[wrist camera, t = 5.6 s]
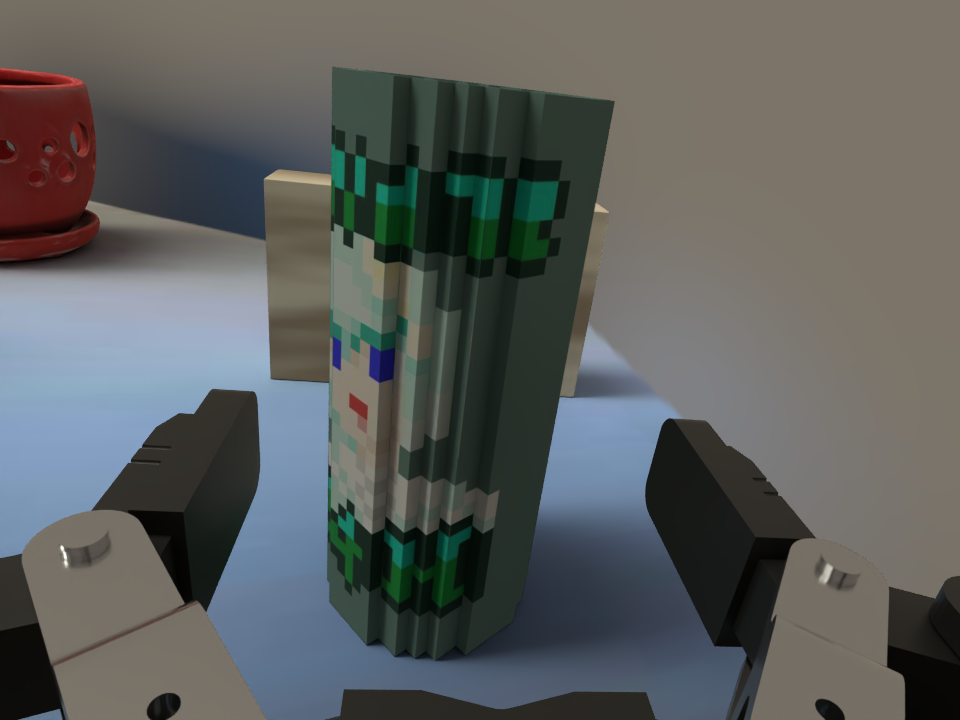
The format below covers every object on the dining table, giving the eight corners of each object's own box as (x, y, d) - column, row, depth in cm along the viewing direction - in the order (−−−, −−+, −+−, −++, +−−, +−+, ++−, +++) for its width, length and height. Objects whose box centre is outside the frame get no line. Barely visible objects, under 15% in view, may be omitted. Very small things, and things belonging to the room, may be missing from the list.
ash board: (573, 397, 33) (609, 213, 29) (270, 378, 32) (263, 179, 27) (562, 372, 36) (594, 201, 32) (282, 354, 34) (278, 169, 30)
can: (296, 563, 20) (288, 61, 14) (438, 497, 24) (480, 83, 18) (409, 695, 16) (465, 85, 10) (555, 590, 20) (659, 106, 14)
